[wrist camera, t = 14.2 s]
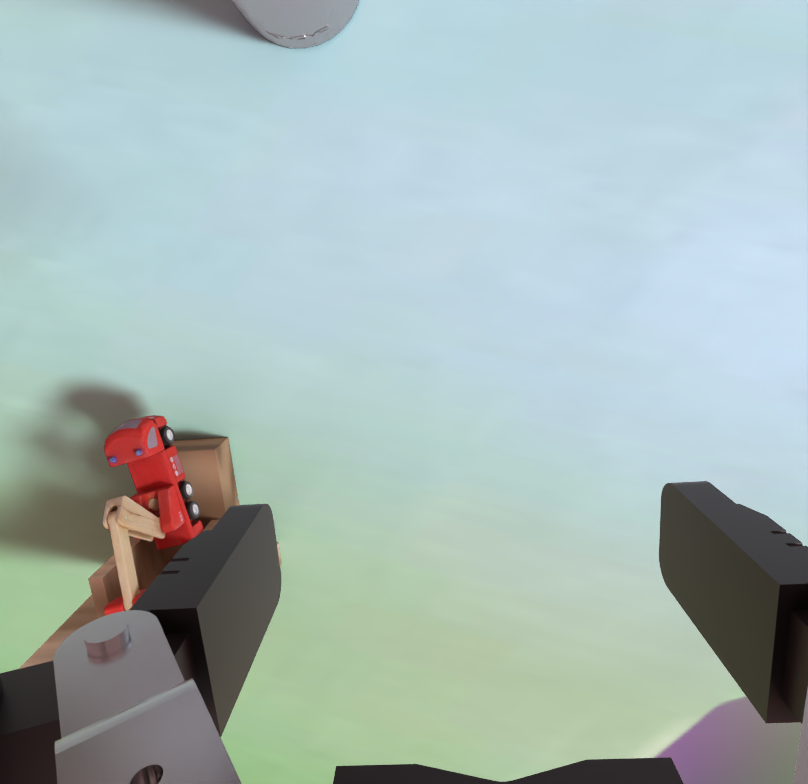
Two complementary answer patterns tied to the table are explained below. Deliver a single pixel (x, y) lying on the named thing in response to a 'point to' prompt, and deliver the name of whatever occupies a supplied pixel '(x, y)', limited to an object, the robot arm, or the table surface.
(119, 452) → the toy fire truck
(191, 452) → the board
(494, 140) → the table surface
